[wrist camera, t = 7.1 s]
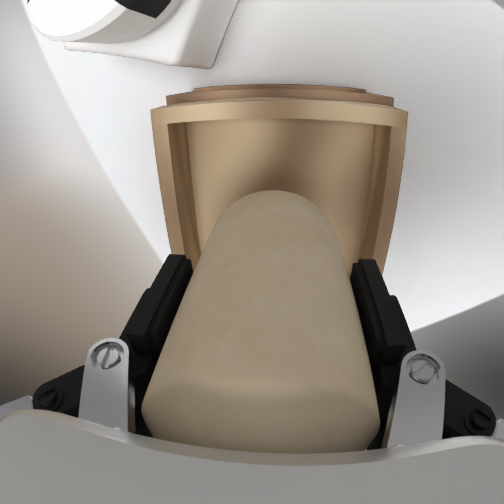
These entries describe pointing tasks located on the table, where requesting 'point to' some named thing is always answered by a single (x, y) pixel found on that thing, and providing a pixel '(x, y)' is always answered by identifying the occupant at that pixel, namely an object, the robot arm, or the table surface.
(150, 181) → the table surface
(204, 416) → the candle
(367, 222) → the top crate
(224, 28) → the container
